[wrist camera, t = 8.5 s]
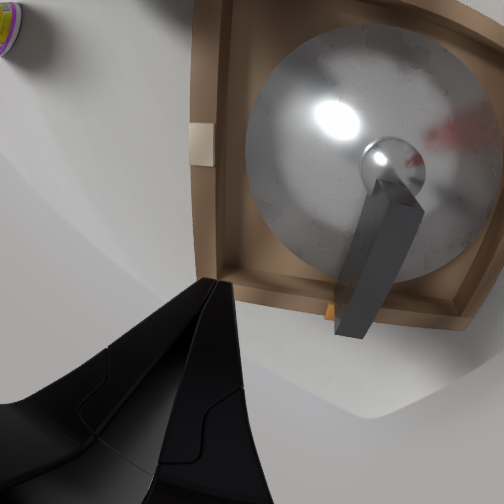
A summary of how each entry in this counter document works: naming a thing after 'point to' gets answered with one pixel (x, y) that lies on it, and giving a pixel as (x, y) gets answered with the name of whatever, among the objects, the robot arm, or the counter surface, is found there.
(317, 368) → the counter surface
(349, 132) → the dial
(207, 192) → the wooden tray
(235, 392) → the robot arm
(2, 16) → the supplement bottle
